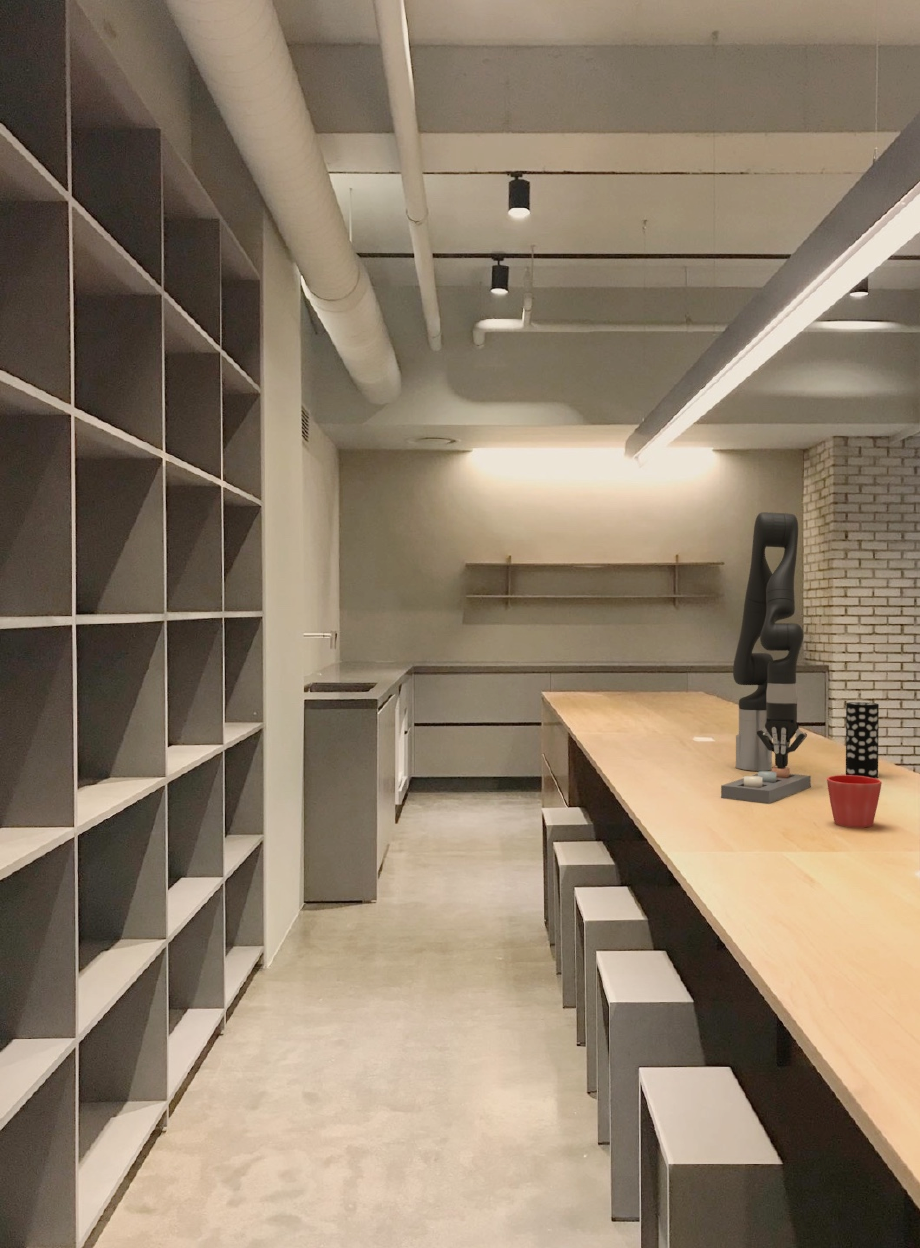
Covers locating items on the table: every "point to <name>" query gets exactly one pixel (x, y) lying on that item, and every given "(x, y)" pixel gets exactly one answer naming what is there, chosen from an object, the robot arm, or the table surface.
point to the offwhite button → (753, 781)
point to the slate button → (767, 776)
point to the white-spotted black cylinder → (862, 739)
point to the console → (766, 789)
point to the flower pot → (853, 799)
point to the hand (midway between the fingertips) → (781, 768)
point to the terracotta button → (781, 772)
